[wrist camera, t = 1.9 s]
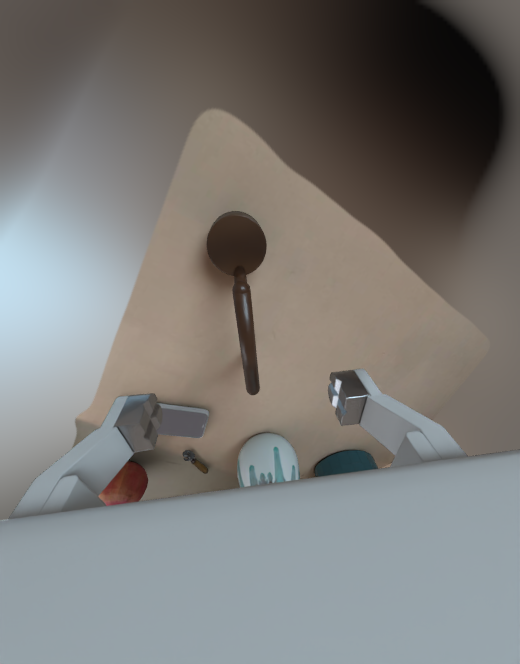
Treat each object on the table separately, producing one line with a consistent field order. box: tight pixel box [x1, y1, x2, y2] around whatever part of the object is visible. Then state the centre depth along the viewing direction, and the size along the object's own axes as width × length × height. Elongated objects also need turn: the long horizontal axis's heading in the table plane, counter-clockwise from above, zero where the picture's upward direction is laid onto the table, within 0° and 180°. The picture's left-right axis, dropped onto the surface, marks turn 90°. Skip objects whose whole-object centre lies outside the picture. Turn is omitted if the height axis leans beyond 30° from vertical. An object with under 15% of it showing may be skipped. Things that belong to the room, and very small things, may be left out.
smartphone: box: [156, 403, 209, 438], centre depth 40 cm, size 7×1×15 cm
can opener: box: [183, 450, 208, 474], centre depth 48 cm, size 9×2×1 cm, turn 18°
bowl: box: [315, 450, 378, 477], centre depth 54 cm, size 14×14×6 cm
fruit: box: [98, 461, 148, 506], centre depth 43 cm, size 8×8×10 cm
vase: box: [237, 433, 300, 488], centre depth 40 cm, size 12×12×18 cm
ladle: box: [207, 211, 266, 395], centre depth 26 cm, size 19×6×9 cm, turn 4°
